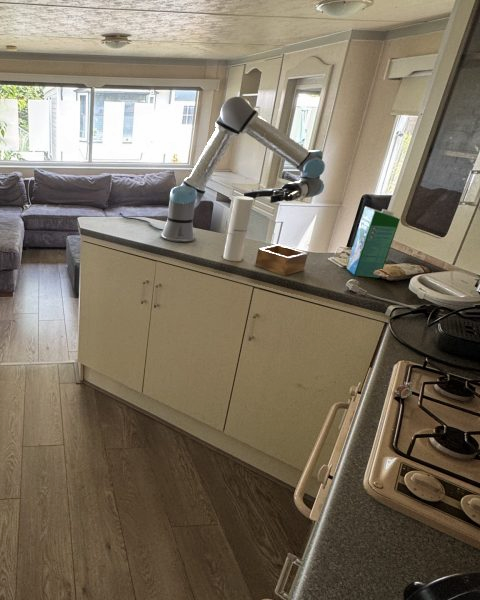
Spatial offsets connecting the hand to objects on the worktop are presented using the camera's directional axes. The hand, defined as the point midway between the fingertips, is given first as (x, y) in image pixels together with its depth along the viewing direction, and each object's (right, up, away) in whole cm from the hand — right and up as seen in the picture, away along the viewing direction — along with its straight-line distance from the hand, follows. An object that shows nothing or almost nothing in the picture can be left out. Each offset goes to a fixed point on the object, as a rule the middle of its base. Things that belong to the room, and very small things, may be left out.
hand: (257, 197), depth 175 cm
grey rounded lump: (-2, -63, -81) cm, 103 cm away
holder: (+6, -29, -5) cm, 30 cm away
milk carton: (+38, -31, -7) cm, 50 cm away
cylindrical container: (-9, -25, +4) cm, 26 cm away
